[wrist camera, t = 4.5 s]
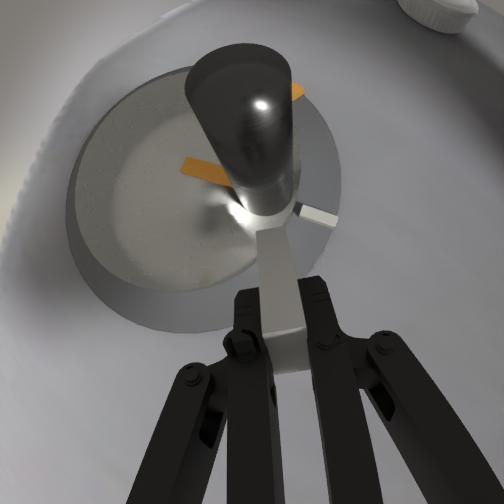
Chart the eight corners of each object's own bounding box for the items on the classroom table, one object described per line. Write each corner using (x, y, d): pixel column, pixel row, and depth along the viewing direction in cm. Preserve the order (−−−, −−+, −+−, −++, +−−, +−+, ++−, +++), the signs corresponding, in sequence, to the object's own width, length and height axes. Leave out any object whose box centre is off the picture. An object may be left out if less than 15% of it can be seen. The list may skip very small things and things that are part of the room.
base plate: (246, 40, 26) (244, 28, 25) (397, 231, 22) (404, 226, 20) (54, 158, 27) (44, 152, 25) (131, 379, 22) (121, 383, 21)
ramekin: (437, -5, 26) (445, -29, 20) (481, 43, 24) (495, 19, 18) (375, -11, 27) (379, -39, 21) (418, 38, 24) (430, 7, 19)
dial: (61, 244, 24) (-57, 206, 11) (145, 75, 25) (84, -17, 13) (248, 331, 20) (183, 374, 8) (329, 109, 22) (345, -25, 10)
